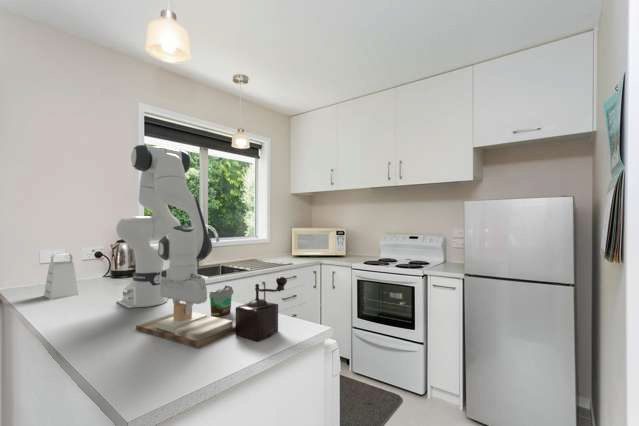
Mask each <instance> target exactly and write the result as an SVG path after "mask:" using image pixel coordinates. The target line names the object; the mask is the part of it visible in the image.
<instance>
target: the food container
mask: <svg viewBox="0 0 639 426" xmlns="http://www.w3.org/2000/svg"><path fill="white" fill-rule="evenodd" d="M233 294H234V288H233V287H232V286H230V285H224V288H221V289H218V290H215V291H210V292H209V297H208V298H210V299H209V300H210V301H209V302H210V316H213V317H218V318H221V317H223V318H224V317H226V316H228V315H230V314H231V307H232V298H233Z"/></svg>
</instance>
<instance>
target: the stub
mask: <svg viewBox="0 0 639 426" xmlns="http://www.w3.org/2000/svg"><path fill="white" fill-rule="evenodd" d="M186 306H187V305H186V302H185V301H182V302H180V304H176V305H174V304H173V314H174V317H171V318H168V319H165V320H161V321H158V322H157V328H159V329H162V330H166V331H169V332H173V333H175V328H177V327H180V326H183V325H185V324H188V323H191V322H194V321H196V320H199V319H202V318H205V317H208V315H207V314H204V313H199V312H194V311H193V307H192V308H191V313H190V314H188V315H187V314H184V309H186Z"/></svg>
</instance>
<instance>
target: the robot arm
mask: <svg viewBox="0 0 639 426" xmlns="http://www.w3.org/2000/svg"><path fill="white" fill-rule="evenodd" d="M130 160H131V164H132V167H133V168H134V169H135V170H137V171H141V175H140V180H139V192H138V202H139V204H140V206H142V207H143V208H145V209H147V210H149V211H151V212H152V215H149V216H147V215H146V216H145V215H133V216H126V217H122V218H121V219H119V221H117V224H116V229H115V231H116V234H117V236H118V238H119V239H121V240H122V241H124V242H125V243H126V244H127V245H129V247H130V248H131V249H132V251H133V253H134V258H135V259H134V260H135V272H133V273H132V276H133V277H132V281H131V282H130V283H129V284H127V285H126V286H125V287H124V289H123V291H122V297H121V298H118V299H116V303H118V304H119V305H120V306H123V307H125V308H127V309H133V308H144V307H145V308H148V307H153V306H158V305H162V304H164V303H166V302H168V300H169V299H170V300H172V303H173V306H174V305H176V304H180V303H181V302H186V305H187V306H186V309H184V314H187V315H188V314H190V313H191V308H192V309H193V305H200V304H203V303H206V302H207V299H208V291H207V290H208V288H207V284H206V279H205V278H204V276H202V275H201V274H198V260H200V261H201V260H205V259H206V258H207V257H208V256H210V254H211V253H212V250H213V243H212V240H211V237H210V234H209V232H208V230H207V227H206V223H205V220H204V216H203V212H202V208H201V205H200V203H199V200H198V197H197V196H196V195H195V194H193V193H192V192H191V191H190V189H189V187H188V185H187V178H186V174H187V173H188V172H189V170H190V167H191V156H190V155H189V153H188V152H187V151H184V150H182V149H175V148H171V147H167V146H156V145H146V144H137V145H136V146H134V147H133V149H132V152H131V154H130ZM169 206H172V207H175V208H177V209H180V210H182V211H183V212H185V213H186V214H187V216H188V218H189V221H190V224H191V226H190V225H182V224H181V222H180V220H179V219H178V217H175V216H174V215H173V214H172V212H171V211H170V208H169ZM151 241H158V248H156V247H154V246H151ZM165 261H166V262H167V261H168V262H169V266H168V268H166V269H165V268H164V267H165V263H164V262H165Z"/></svg>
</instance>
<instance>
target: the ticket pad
mask: <svg viewBox="0 0 639 426" xmlns="http://www.w3.org/2000/svg"><path fill="white" fill-rule="evenodd" d="M171 317H174V313H171V314H167V315H164V316H161V317H158V318H155V319H151V320H148V321H144V322H142V323H137V324H136V325H135V330H136V331H140V332H143V333H145V334H146V333H147V334H149V335H152V336H156V337H159V338H162V339H165V340H168V341H172V342H176V343H178V344H181V343H182V344H183V345H185V346H189V347H192V348H196V349H200V348H202V347H204V346H207V345H210V344H211V343H213V342H215V341H218V340H219V339H222V338H224V337H227V336H228V335H231V334H234V333H235V325H233V322H234V321H233V320H231V319H226V318H221V317H213V316H211V315H207V317H205V318H202V319H199V320H196V321H194V322H191V323H188V324H185V325H183V326H180V327H177V328H175V333H173V332H169V331H166V330H162V329H159V328H157V322H158V321H161V320H165V319H168V318H171ZM182 344H181V345H182Z"/></svg>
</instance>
